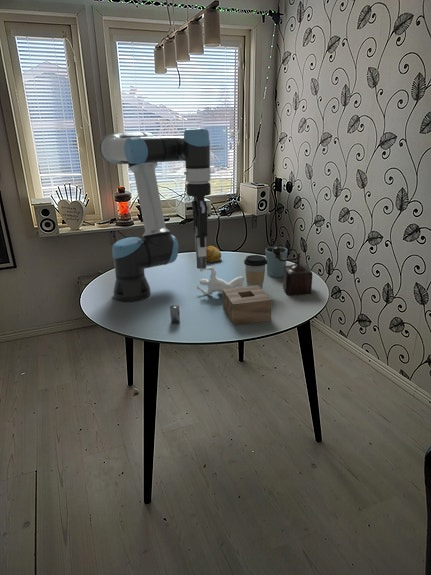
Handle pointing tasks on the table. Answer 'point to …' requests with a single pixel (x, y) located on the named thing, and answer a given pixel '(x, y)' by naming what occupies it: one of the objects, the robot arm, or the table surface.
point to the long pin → (200, 260)
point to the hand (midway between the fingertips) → (201, 254)
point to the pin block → (246, 305)
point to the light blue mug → (275, 262)
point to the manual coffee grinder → (295, 276)
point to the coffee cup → (255, 270)
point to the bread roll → (212, 254)
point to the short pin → (174, 314)
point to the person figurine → (218, 283)
